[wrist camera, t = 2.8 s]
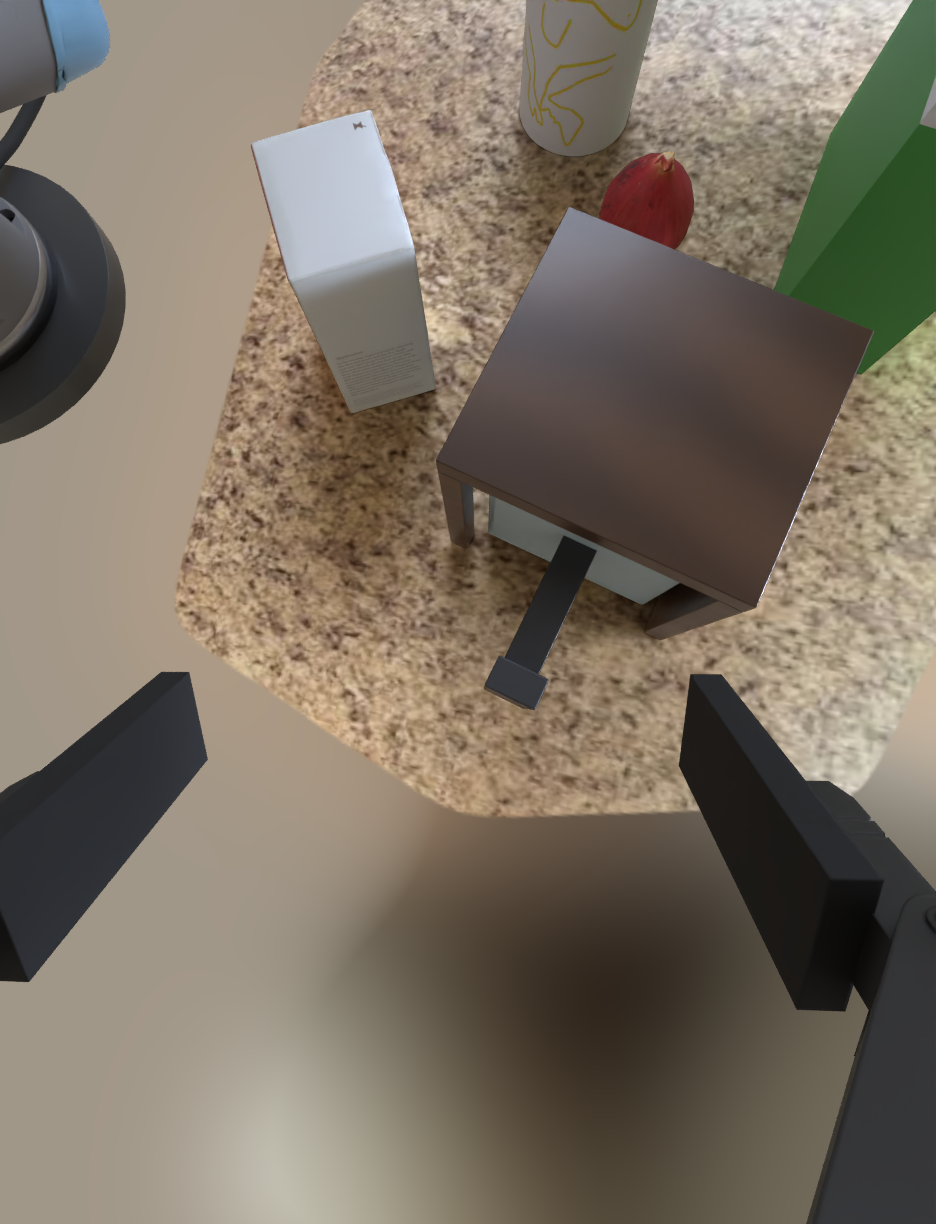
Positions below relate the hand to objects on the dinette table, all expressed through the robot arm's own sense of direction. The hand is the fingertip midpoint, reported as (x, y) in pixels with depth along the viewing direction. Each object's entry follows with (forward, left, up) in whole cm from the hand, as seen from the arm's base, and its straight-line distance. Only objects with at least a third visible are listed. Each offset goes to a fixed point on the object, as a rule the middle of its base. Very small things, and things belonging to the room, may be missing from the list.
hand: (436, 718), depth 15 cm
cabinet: (-15, +7, -21) cm, 27 cm away
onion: (-33, +8, -22) cm, 40 cm away
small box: (-24, -9, -22) cm, 33 cm away
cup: (-45, +3, -22) cm, 50 cm away
